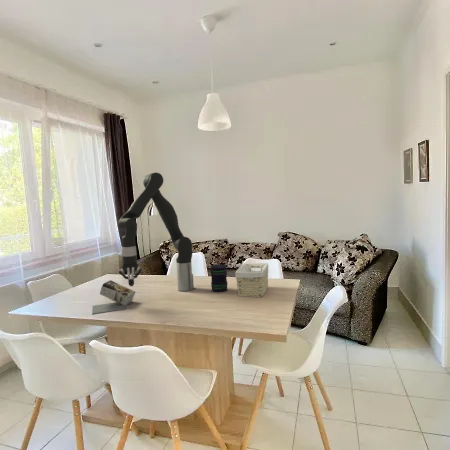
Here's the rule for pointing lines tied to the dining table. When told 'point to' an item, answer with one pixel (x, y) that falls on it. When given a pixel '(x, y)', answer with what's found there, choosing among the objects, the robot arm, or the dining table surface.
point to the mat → (107, 307)
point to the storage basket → (252, 280)
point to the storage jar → (218, 278)
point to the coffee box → (117, 292)
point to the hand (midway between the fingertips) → (131, 285)
